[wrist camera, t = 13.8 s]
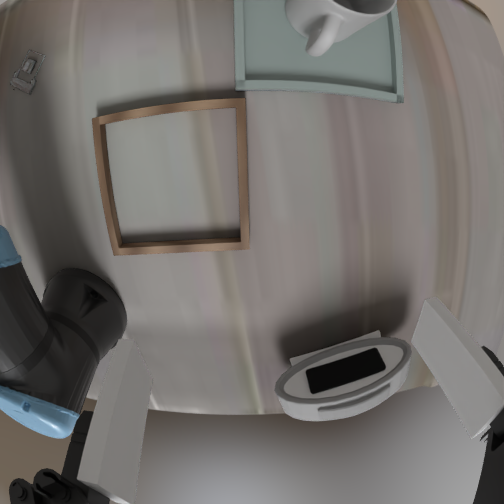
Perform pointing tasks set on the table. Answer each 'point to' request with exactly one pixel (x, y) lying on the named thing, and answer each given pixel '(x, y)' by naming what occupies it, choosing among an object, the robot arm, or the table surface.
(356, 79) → the tray
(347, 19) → the mug
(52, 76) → the table surface
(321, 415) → the alarm clock
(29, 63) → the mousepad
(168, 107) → the frame
